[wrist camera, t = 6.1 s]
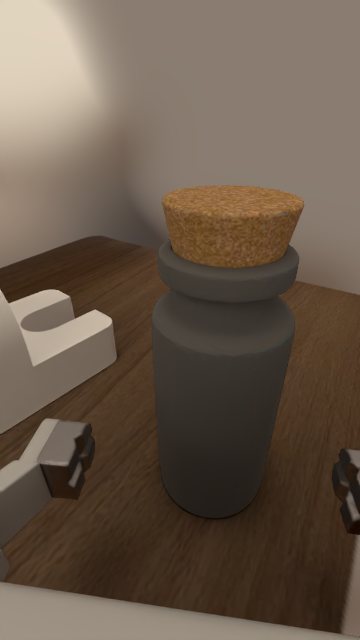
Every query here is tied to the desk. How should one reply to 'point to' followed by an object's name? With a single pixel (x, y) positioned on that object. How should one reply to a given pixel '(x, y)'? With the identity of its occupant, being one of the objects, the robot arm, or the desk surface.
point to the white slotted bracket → (47, 352)
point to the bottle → (222, 340)
